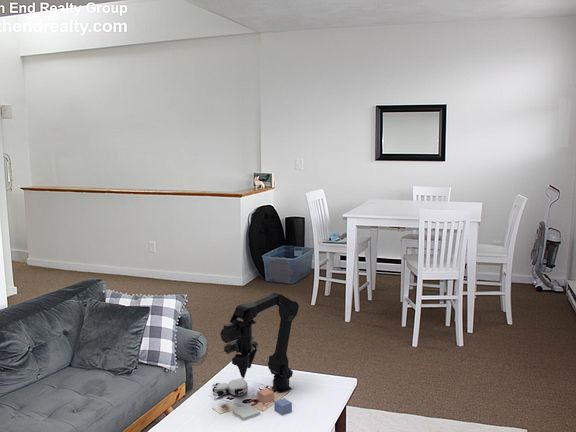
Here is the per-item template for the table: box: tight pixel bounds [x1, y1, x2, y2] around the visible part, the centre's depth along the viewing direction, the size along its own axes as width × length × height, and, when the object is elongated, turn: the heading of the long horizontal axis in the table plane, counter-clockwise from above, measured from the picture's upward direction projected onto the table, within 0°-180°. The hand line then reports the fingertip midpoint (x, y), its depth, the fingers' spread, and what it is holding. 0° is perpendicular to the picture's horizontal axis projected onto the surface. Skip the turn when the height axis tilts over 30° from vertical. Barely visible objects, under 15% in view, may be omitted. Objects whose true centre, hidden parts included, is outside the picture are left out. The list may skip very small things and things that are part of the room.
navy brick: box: [273, 398, 293, 416], centre depth 229 cm, size 5×5×4 cm
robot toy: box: [212, 377, 248, 397], centre depth 245 cm, size 12×4×15 cm
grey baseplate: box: [231, 404, 261, 421], centre depth 227 cm, size 8×8×1 cm
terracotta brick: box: [256, 387, 275, 405], centre depth 238 cm, size 5×5×4 cm
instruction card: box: [212, 401, 240, 415], centre depth 231 cm, size 9×6×1 cm, turn 128°
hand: (246, 372), depth 234 cm, fingers open, 9 cm apart
